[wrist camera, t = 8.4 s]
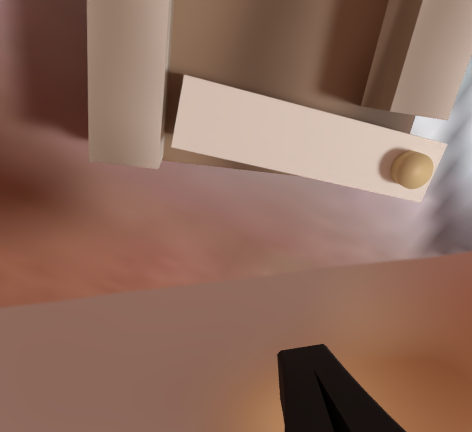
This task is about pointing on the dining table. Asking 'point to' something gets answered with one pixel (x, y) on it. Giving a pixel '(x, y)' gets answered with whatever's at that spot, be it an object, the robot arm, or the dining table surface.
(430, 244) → the dining table surface
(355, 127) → the hinged leg
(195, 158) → the stool seat
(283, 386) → the robot arm
